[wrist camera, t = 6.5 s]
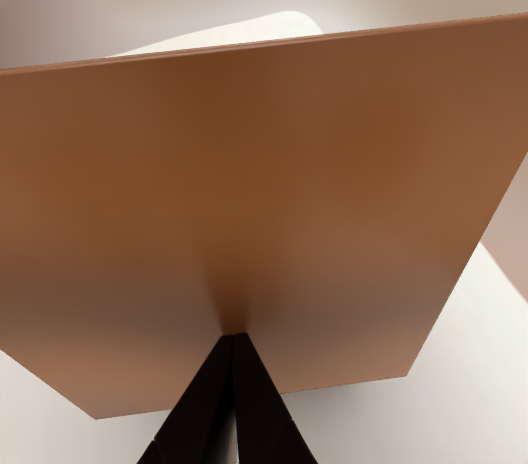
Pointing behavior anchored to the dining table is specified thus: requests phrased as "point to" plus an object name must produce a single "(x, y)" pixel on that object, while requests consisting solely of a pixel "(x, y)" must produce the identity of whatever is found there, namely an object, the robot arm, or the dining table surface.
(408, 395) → the dining table surface
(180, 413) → the robot arm
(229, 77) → the bin lid
